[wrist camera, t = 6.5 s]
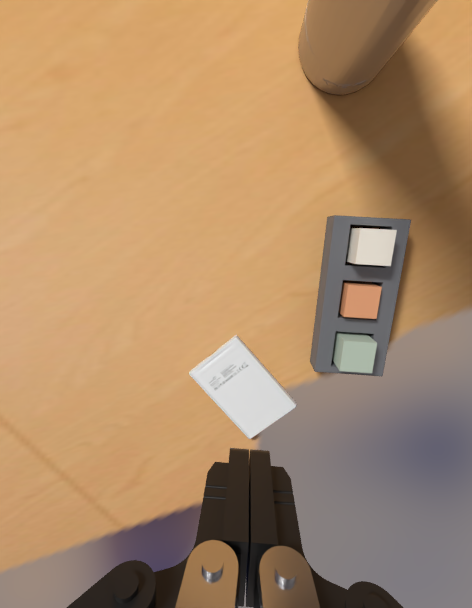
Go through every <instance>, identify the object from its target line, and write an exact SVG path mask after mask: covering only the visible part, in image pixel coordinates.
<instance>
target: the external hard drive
mask: <svg viewBox="0 0 472 608" xmlns="http://www.w3.org/2000/svg"><path fill="white" fill-rule="evenodd" d="M189 374H190V376H191V377H192V378H193V379H194V380H195V381H196V382H197V383H198V384H199V385H200V386H201V388H202V389H203V390H204V391H205V392H206V393H207V394H208V395H209V396H210V397H211V398H212V400H213V401H214V402H215V403H216V404H217V405H218V406H219V407H220V408H221V409H222V410H223V411H224V412H225V414H226V415H227V416H228V417H229V418H230V419H231V420H232V421H233V422H234V423H235V424H236V425H237V427H238V428H239V429H240V430H241V431H242V432H243V433H244V434H245V435H246V436H247V437H248V438H249V439H251V438H253V437H254V436H255V435H257V434H258V433H260V432H261V431H263V430H264V429H265V428H267V427H268V426H270V425H271V424H273V423H274V422H275V421H277V420H279V419H280V418H281V417H283V416H284V415H286V414H287V413H289V412H290V411H292V410H293V409H294V408H295V407H296V406H297V405H296V402H295V400H294V399H293V398H292V397H291V396H290V394H289V393H288V392H287V391H286V390H285V389H284V388H283V387H282V386H281V385H280V383H279V382H278V381H277V380H276V379H275V378H274V377H273V375H272V374H271V373H270V372H269V371H268V370H267V369H266V368H265V366H264V365H263V364H262V363H261V362H260V361H259V360H258V359H257V357H256V356H255V355H254V354H253V353H252V352H251V351H250V349H249V348H248V347H247V346H246V345H245V344H244V343H243V342H242V340H241V339H240V338H239V337H238V336H237V335H235V336H234V337H233V338H231V339H230V340H229V341H228V342H226V343H225V344H224V345H223V346H221V347H220V348H219V349H218V350H217V351H216V352H215V353H213V354H212V355H211V356H209V357H207V358H206V359H205V360H204V361H202V362H201V363H200V364H198V365H197V366H196V367H195V368H193V369H192V370H191V371H190V372H189Z"/></svg>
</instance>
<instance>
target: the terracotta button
mask: <svg viewBox="0 0 472 608" xmlns="http://www.w3.org/2000/svg"><path fill="white" fill-rule="evenodd" d="M381 289H382V287H380V286H378V285H376V284H373V283H371V282H360V281H343V283H342V290H341V297H340V304H339V311H338V312H339V313H340V314H341V315H342V316H343V317H354V318H370V319H376V318H377V313H378V307H379V301H380V295H381Z"/></svg>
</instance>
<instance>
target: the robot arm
mask: <svg viewBox="0 0 472 608" xmlns="http://www.w3.org/2000/svg"><path fill="white" fill-rule="evenodd" d="M436 2H437V0H309V1H308V4H307V8H306V12H305V16H304V20H303V24H302V28H301V32H300V36H299V47H298V48H299V58H300V62H301V65H302V68H303V70H304V72H305V74H306V76H307V78H308V79H309V80H310V81H311V82H312V84H314V85H315V86H316V87H317V88H319V89H320V90H322V91H325V92H327V93H330V94H336V95H342V94H349V93H352V92H356V91H358V90H360V89H361V88H363V87H365V86H366V85H367V84H368V83H370V82H371V81H372V80H373V79H374V78H375V76H376V75H377V74H378V73H379V72H380V70H381V69H382V68H383V67H384V66H385V64H386V63H387V62H388V61H389V59H390V58H391V57H392V56H393V55H394V54H395V52H396V51H397V50H398V49H399V47H400V46H401V45H402V44H403V42H404V41H405V40H406V39H407V38H408V36H409V35H410V34H411V33H412V31H413V30H414V29H415V28H416V26H417V25H418V24H419V23H420V21H421V20H422V19H423V18H424V17H425V15H426V14H427V13H428V12H429V10H430V9H431V8H432V7H433V5H434V4H435V3H436ZM294 503H295V502H294V496H293V491H292V485H291V479H290V477H289V476H288V474H287V472H286V471H285V469H284V468H283V467H275V466H271V464H270V453H269V451H263V450H250V458H249V449H236V448H230V455H229V463H221V462H215V463H214V464H213V466H212V467H211V469H210V470H209V471H208V474H207V480H206V486H205V491H204V498H203V503H202V509H201V514H200V520H199V526H198V532H197V537H196V542H195V545H194V548H193V549H192V551H191V553H190V554H189V555H188V557H187V558H186V559H185V560H184V561H182V562H181V563H179V564H178V565H176V566H174V567H171V568H168V569H164V570H161V571H157V572H154V573H153V571H152V569H151V568H150V567H149V566H148V565H147V564H146V563H144V562H141V561H136V560H134V561H127V562H124V563H122V564H120V565H118V566H116V567H115V568H114V569H112V570H111V571H110V572H109V573H107V575H105V576H104V577H103V578H101V579H100V580H99V581H98V582H97V583H95V584H94V585H93V586H92V587H91V588H90V589H88V590H87V591H86V592H85V593H84V594H82V595H81V596H80V597H79V598H78V599H76V600H75V601H74V602H73V603H72V604H70V605H69V606H68V607H67V608H238V606H244V595H245V582H246V607H254V608H403V607H402V606H401V605H400V604H399V603H398V602H397V601H396V600H395V599H394V598H393V597H392V596H391V595H390V594H389V593H388V592H387V591H385V590H384V589H383V588H381V587H379V586H378V585H376V584H373V583H370V582H363V581H361V582H357V583H355V584H353V585H352V586H350V588H349V589H348V590H347V589H345V588H342V587H340V586H338V585H336V584H333V583H331V582H329V581H327V580H325V579H324V578H322V577H321V576H319V575H318V574H317V573H316V572H315V571H314V570H313V569H312V568H311V566H310V565H309V563H308V562H307V560H306V558H305V556H304V553H303V549H302V544H301V538H300V532H299V526H298V521H297V514H296V508H295V504H294Z"/></svg>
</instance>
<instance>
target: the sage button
mask: <svg viewBox="0 0 472 608" xmlns="http://www.w3.org/2000/svg"><path fill="white" fill-rule="evenodd" d="M376 347H377V342H375V341H374V340H373V339H372V338H371V337H370V336H368V335H367V334H366V333H354V332H338V331H336V333H335V340H334V348H333V355H332V360H333V362H334V363H335V365H336V366H337V368H338V369H339V371H346V372H360V373H372V370H373V365H374V359H375V353H376Z"/></svg>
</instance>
